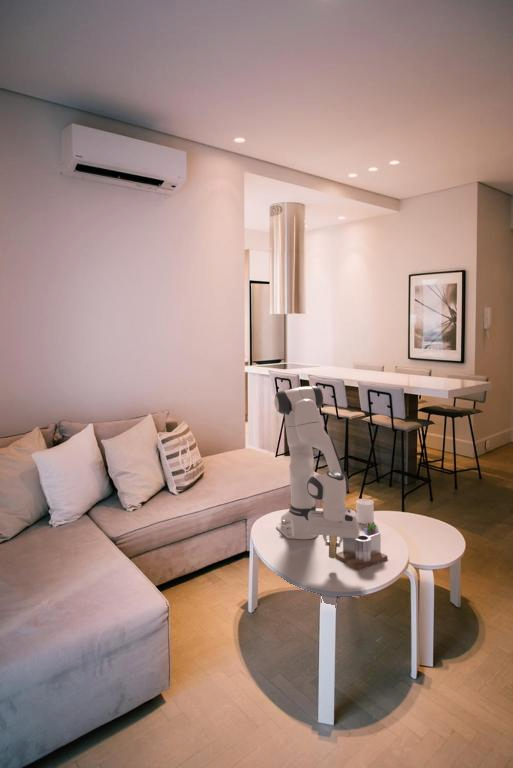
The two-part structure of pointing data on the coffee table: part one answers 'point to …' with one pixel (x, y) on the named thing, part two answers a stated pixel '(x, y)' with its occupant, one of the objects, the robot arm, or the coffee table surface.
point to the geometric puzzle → (370, 529)
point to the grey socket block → (362, 547)
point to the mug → (365, 511)
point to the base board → (358, 565)
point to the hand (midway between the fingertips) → (332, 545)
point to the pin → (332, 546)
